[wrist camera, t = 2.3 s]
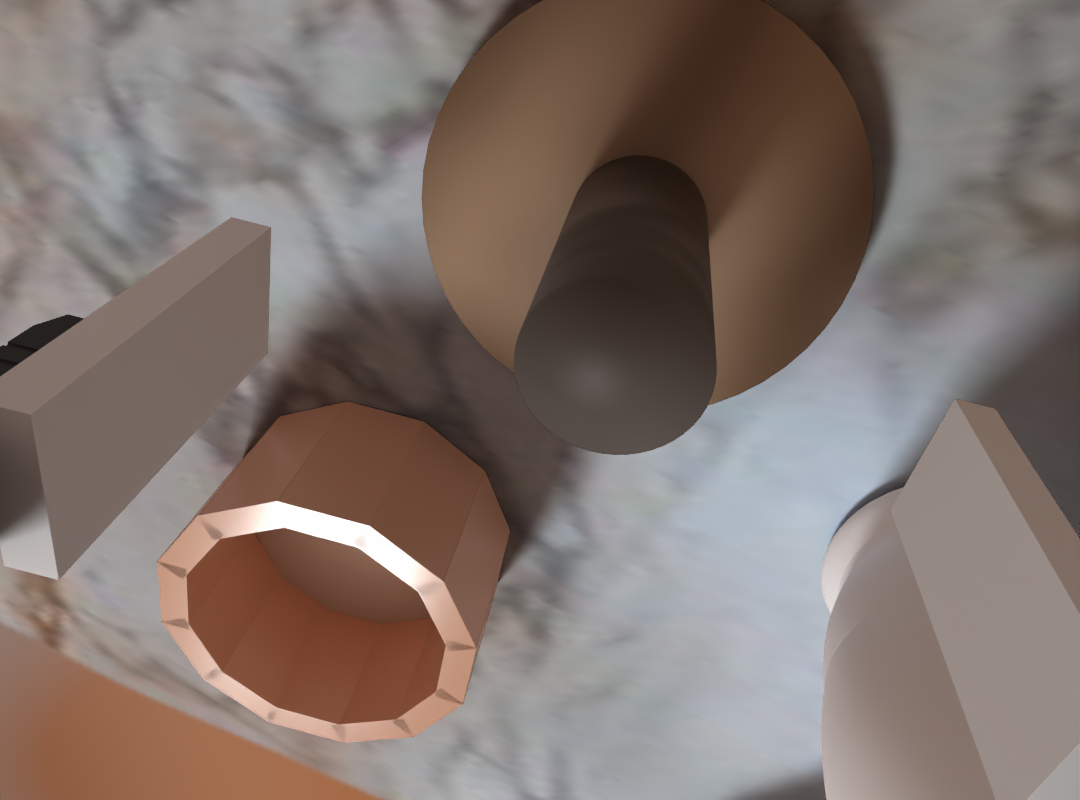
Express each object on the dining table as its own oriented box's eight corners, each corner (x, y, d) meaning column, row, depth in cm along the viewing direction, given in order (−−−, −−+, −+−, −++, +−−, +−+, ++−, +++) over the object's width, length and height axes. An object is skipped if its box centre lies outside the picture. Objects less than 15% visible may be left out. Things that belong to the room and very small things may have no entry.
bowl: (530, 449, 29) (497, 559, 24) (481, 648, 35) (446, 771, 30) (242, 373, 30) (150, 467, 25) (241, 583, 36) (166, 694, 30)
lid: (948, 36, 21) (1132, 118, 12) (771, 436, 28) (809, 670, 19) (467, -83, 21) (314, -84, 13) (410, 342, 28) (286, 529, 19)
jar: (765, 477, 28) (829, 927, 16) (1098, 420, 25) (1509, 919, 13) (817, 682, 33) (897, 1157, 20) (1102, 654, 30) (1407, 1191, 17)
